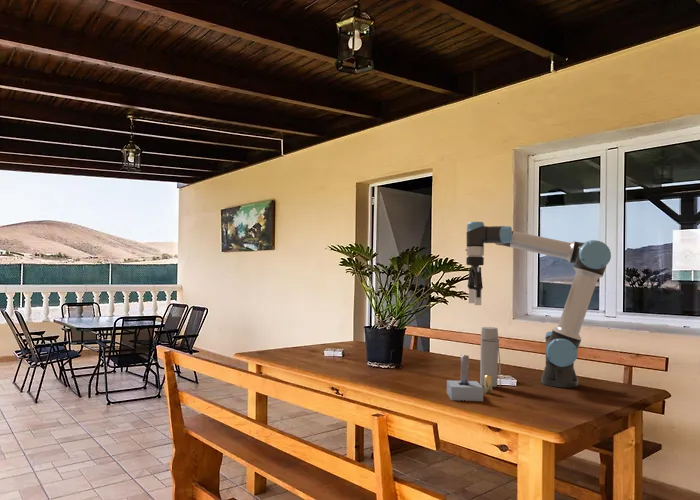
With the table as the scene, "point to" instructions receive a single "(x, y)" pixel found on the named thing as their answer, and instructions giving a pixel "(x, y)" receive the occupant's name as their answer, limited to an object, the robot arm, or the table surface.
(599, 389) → the table surface
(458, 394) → the socket block
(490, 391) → the short pin
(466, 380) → the long pin
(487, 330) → the water bottle
